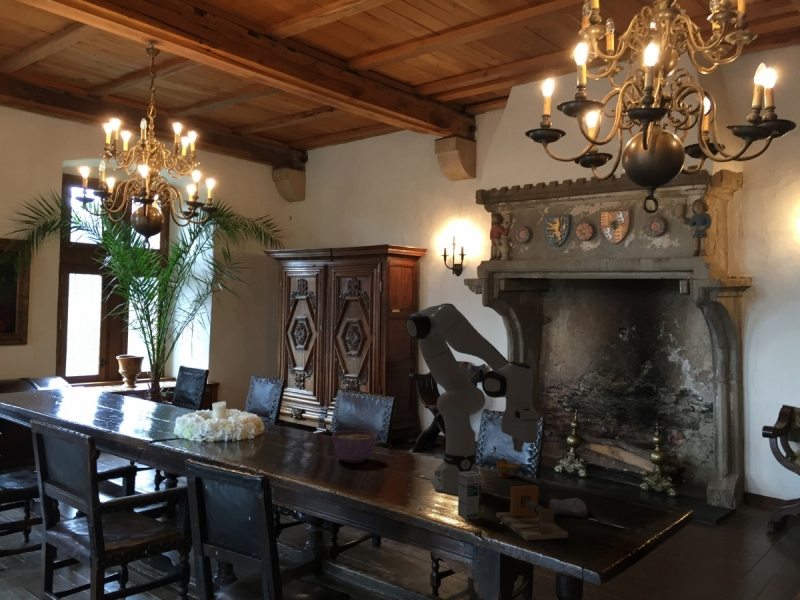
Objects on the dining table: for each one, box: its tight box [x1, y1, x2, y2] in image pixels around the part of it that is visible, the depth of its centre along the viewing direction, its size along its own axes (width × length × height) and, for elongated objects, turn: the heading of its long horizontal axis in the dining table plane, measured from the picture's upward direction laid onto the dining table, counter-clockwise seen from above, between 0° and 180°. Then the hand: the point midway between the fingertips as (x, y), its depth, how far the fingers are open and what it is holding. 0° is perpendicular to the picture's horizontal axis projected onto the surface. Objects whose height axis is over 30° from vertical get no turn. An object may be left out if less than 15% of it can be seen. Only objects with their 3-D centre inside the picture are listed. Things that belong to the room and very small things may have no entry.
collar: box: [509, 484, 539, 516], centre depth 215 cm, size 2×9×9 cm, turn 106°
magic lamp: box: [491, 446, 526, 478], centre depth 273 cm, size 7×18×11 cm, turn 41°
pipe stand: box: [496, 496, 569, 541], centre depth 210 cm, size 22×14×8 cm, turn 16°
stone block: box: [548, 497, 588, 518], centre depth 227 cm, size 12×5×10 cm
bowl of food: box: [331, 430, 378, 464], centre depth 290 cm, size 20×20×12 cm
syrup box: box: [457, 471, 483, 521], centre depth 219 cm, size 6×6×14 cm
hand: (517, 451), depth 221 cm, fingers closed
